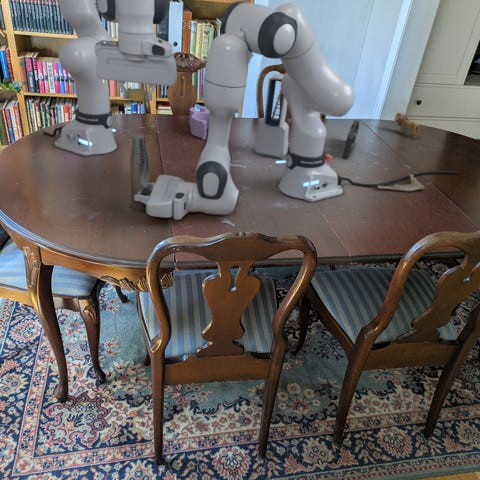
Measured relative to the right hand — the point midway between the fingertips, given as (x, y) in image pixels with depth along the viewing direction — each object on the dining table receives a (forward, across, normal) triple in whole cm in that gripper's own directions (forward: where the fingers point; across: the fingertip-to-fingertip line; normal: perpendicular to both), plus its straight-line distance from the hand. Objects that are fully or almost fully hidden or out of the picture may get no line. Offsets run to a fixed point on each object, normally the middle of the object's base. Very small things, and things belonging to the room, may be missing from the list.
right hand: (137, 191), depth 138 cm
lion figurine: (-106, -94, +5) cm, 142 cm away
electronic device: (-41, -52, +5) cm, 67 cm away
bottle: (-1, 0, +5) cm, 5 cm away
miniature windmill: (-46, -87, +5) cm, 98 cm away
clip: (-13, -71, +5) cm, 72 cm away
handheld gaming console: (-75, -65, +5) cm, 100 cm away
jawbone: (-88, -35, +5) cm, 94 cm away
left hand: (-1, 0, -28) cm, 28 cm away
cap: (-1, 0, -29) cm, 29 cm away
